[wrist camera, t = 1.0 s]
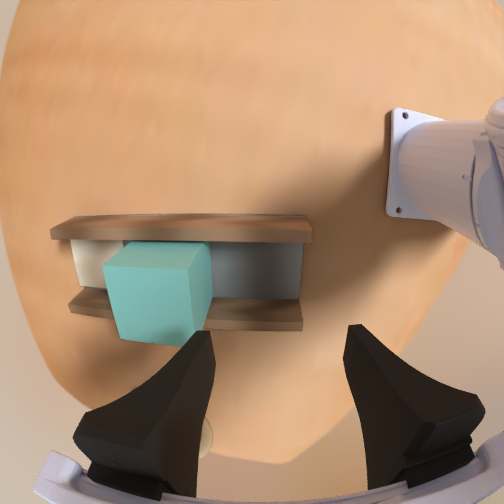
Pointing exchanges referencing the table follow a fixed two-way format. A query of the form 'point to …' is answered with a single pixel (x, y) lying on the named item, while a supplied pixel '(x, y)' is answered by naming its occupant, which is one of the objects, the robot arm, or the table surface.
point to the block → (160, 290)
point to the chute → (222, 262)
